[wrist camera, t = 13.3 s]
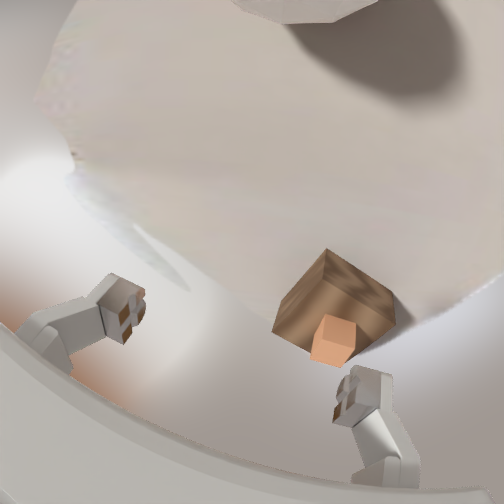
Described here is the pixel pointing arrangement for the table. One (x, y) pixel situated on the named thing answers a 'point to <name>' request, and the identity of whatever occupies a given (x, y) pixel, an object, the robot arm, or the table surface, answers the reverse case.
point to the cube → (333, 341)
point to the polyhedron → (302, 9)
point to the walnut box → (335, 303)
